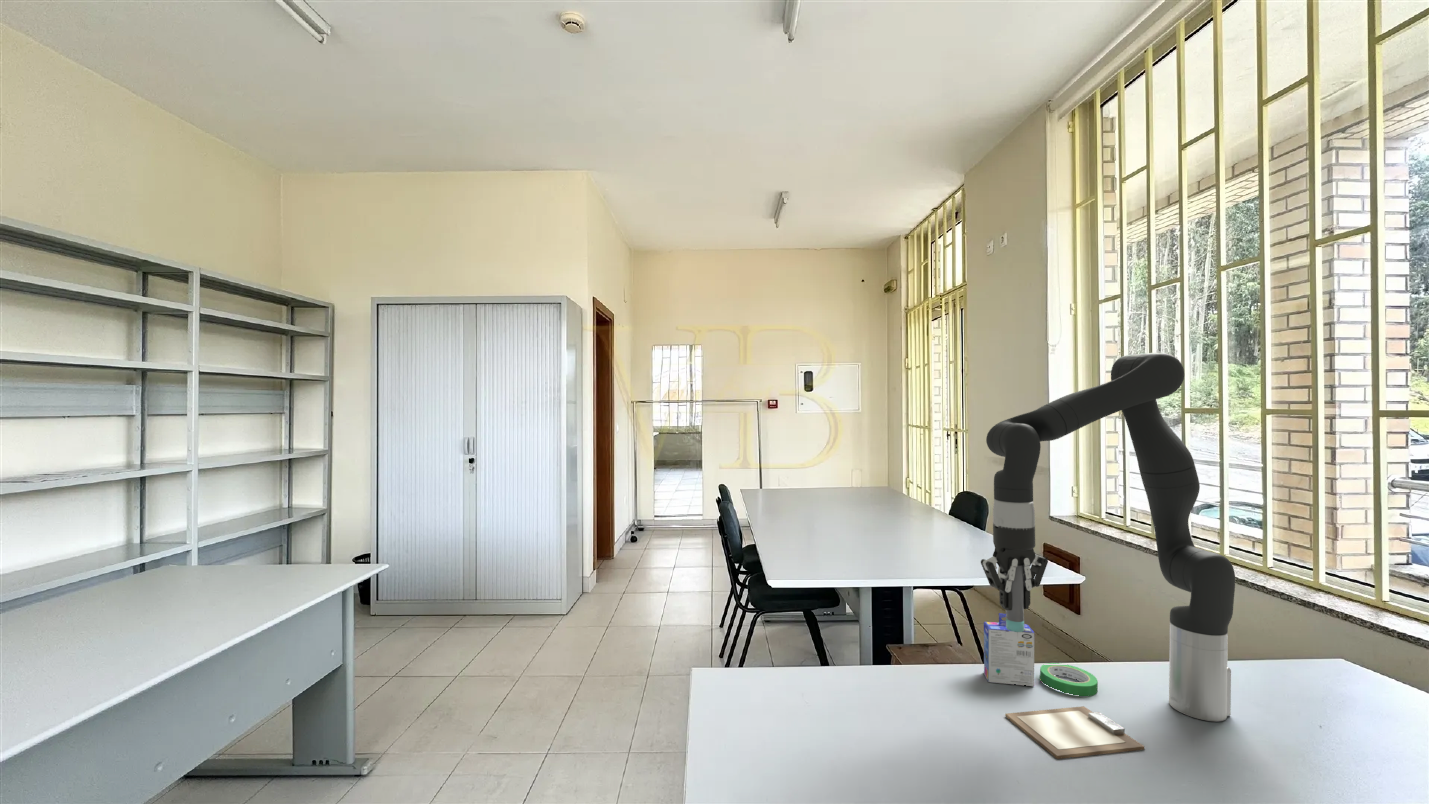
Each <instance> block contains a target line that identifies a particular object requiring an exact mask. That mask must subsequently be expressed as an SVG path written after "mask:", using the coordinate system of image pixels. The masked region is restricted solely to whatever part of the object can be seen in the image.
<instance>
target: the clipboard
mask: <svg viewBox="0 0 1429 804" xmlns="http://www.w3.org/2000/svg"><path fill="white" fill-rule="evenodd" d="M1004 715H1005V716H1006V717H1007V719H1008V720H1009V719H1010V720H1009V721H1010V722H1011V723H1012V724H1014V725H1015V726H1016V727H1017V728H1018V729H1020V730H1021V731H1022V732H1024V733H1025V735H1027V736H1028V737H1030V738H1031V739H1032V740H1033V741H1034V742H1036V743H1037V744H1038V745H1040V746H1041V747H1042V748H1043V749H1044V750H1045V751H1047V753H1049V754H1051V756H1053V757H1054V758H1055V759H1056V760H1062V759H1070V757H1072V758H1080V757H1089V756H1090V757H1091V756H1097V755H1098V756H1099V755H1107V754H1116V753H1124V752H1125V753H1126V752H1133V751H1143V750H1145V746H1144V744H1142V743H1140V742H1139V741H1137V740H1136V739H1134V738H1133V737H1131V736H1129V734H1126V733H1125V732H1126V731H1125V730H1126V728H1125V727H1124V726H1121V725H1120V724H1118V723H1117V722H1115V721H1114V720H1112V719H1111V718H1109V717H1107V716H1106V715H1104V713H1101V711H1094V712H1093V711H1092V710H1090V709H1089V708H1087V707H1086V706H1084V705H1083V706H1073V707H1072V706H1071V707H1064V708H1063V707H1061V708H1051V709H1042V710H1041V709H1038V710H1029V711H1019V712H1010V713H1005V714H1004ZM1006 717H1005V718H1006Z"/></svg>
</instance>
